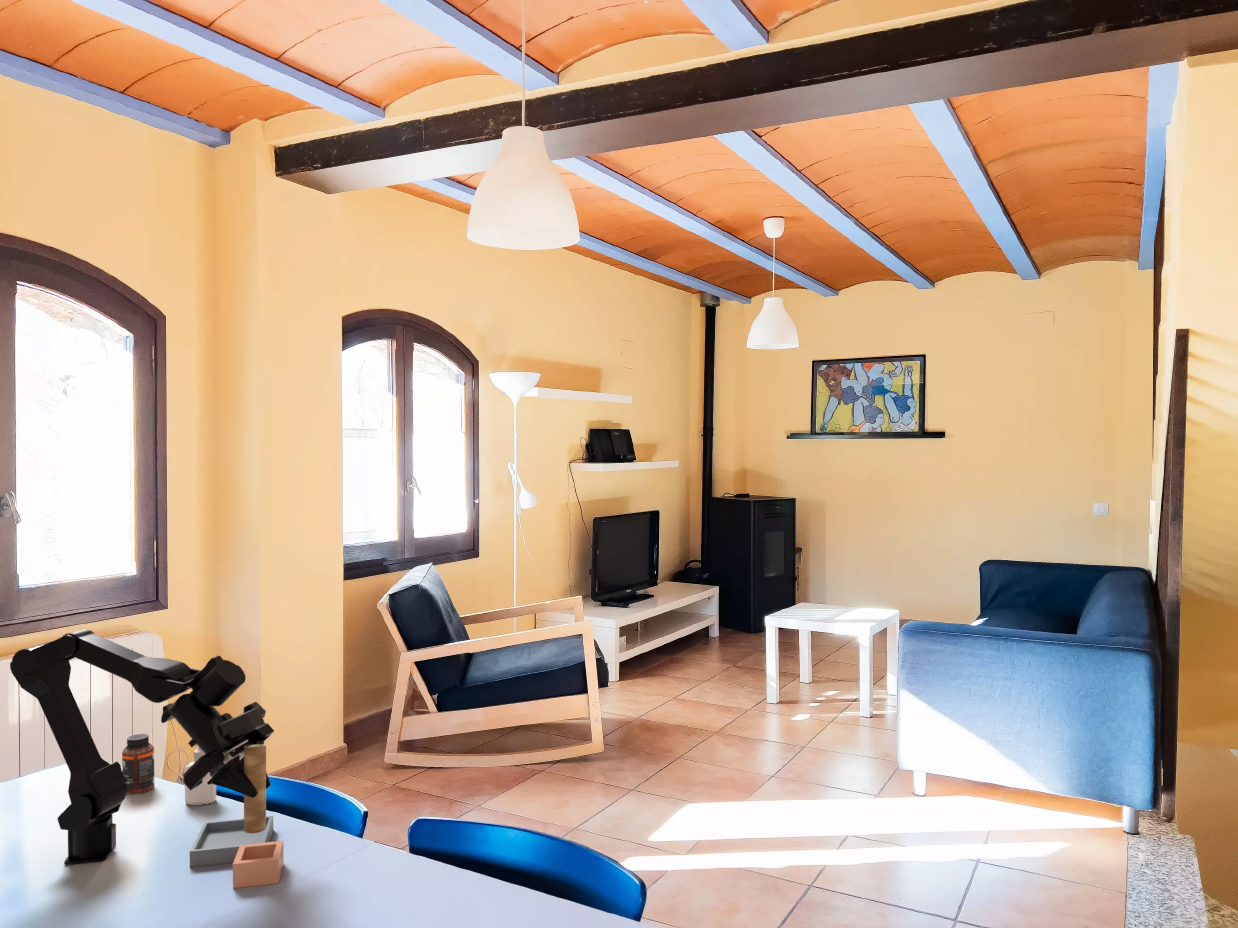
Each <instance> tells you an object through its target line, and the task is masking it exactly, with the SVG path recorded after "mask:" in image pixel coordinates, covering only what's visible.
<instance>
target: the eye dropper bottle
mask: <svg viewBox="0 0 1238 928" xmlns="http://www.w3.org/2000/svg"><path fill="white" fill-rule="evenodd" d="M203 755H205V753H204V752H203V751H202V750H201V749H200V748H199V746H198V745H197V749H195V750H193V761H192V762H189V763H188V764H187V765H186V766H185V769H184V773H185V772H186V771H187V770H188V769H189V768H190V767H191V766H192V765H193V764H194V763H195V762H196V761H197V760H198V759H199V758H200V757H202V756H203ZM211 778H212V777H211V776H210V772H209V773H208V774H207V775H206V776H205V777H204V778H203V779H202V783H201V784H200V785H199V786H197V787H196V788H194V789H192V790H191V791H190V790H189V789H188V787H187V786H186V785H185V784H184V789H185V790H184V799H185V800H184V801H185V802H184V803H185V804H186V805H189V806H203V805H202V804H206V805H210V804H209V803H211V804H213V803H214V802H215V801H216V800H215V799H217V785H214V784H210V785H208V784H207V782H208V781H209V780H210V779H211ZM212 802H213V803H212Z"/></svg>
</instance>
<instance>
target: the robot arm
mask: <svg viewBox="0 0 1238 928" xmlns="http://www.w3.org/2000/svg"><path fill="white" fill-rule="evenodd" d="M72 659H78V660H81V661H82V662H85V663H88V664H89V665H91V666H94V667H96V668H99V669H101V670H102V671H105V672H108V673H109V674H112V675H114V676H117V677H119V678H121V679H124V680H126V681H127V682H129V683H130V684H131V685H132V687H133V688H134V690H135V692H136V693H138V694H139V695H141V696H142V697H144V698H145V699H147V700H148V701H149V702H151V703H154V704H160V703H163V702H166V701H168V700H170V699H172V698H174V697H177V696H179V695H180V696H179V697H178V698H177V699H175V701H174V702H172V703H171V702H170V703H169V704H168V703H167V704H166V705H164V706H163V707H162V714H161V720H160V722H161V723H162V724H165V723H167V722H170V721H171V720H173V719H174V720H175V722H177V723H178V724H179V725H180V727H181V728H182V729H183V731H185V733H186V734H188V736H189V737H190V739H191V740H189V741H188V745H189V746H190V747H191V748H193V747H195V746H197V747H198V746H199V748H200V749H201V750H202V751H203V752H204V753H205V755H203V756H202V757H200V758H199V759H198V760H197V761H196V762H195V763H194V764H193V765H192V766H191V767H190V768H189V769H188V770H187V771H186V772H185V771H184V773H183V775H182V782H183V784H184V786H185V785H186V786H187V787H188V789H189V790H190V791H191V790H192V789H194V788H196V787H197V786H199V785H200V784H201V783H202V779H203V778H204V777H205V776H206V775H207V774H208V773H209V772H210V776H211V777H212V778H211V779H210V780H209V781H208V782H207V784H208V785H210V784H214V785H216V786H219V787H221V788H225V789H229V790H230V791H231V790H232V791H233V792H236V793H239V794H242V795H243V796H244V795H246V796H249V797H252V798H254V797H256V796H257V795H258V792H257V790H256V788H255V787H254V785H253V784H252V783H251V781H250V780H249V779H248V777H247V776H246V774H245V773H244V748H245V747H247V746H251V745H258V744H259V745H265V742H266V740H268V739H269V737H271V735H272V734H274V732H275V730H274V729H273V728H272V727H271V725H270V724H269V722H268V723H266V722H265V720H264V718H265V716H266V713H267V711H266V709H264V708H263V707H262V706H261V704H260V703H258V701H254V702H251V703H249V704H248V705H245V706H244V707H243V712H242V713H240V714H238V715H237V716H234V717H233V716H232V715H231V714H230V713H228V712H225V713H223V714H221V713H220V712H219V711H218V709H216V707H221V706H223V705H224V703H226V702H227V701H228V699H229V698H230V697H231V696H233V694H235V693H236V691H237V690H239V688H240V687H242V685H243V684H244V683H245V682H246V678H247V677H246V674H245V672H244V671H245V670H244V669H242V667H241V666H240V665H238V664H236V663H234V662H233V661H230V660H227V659H223V658H222V656H221V655H219V654H218V655H216V656H213V657H212V658H210V659H209V661H207V663H206V664H205V666H204V667H203V668H202V669H197V668H193V667H192V668H191V667H190V666H189V665H188V664H186V663H185V662H182V661H178V660H174V659H170V658H165V657H152V656H151V657H150V656H146V655H144V654H141V653H139V652H137V651H134V650H132V649H130V648H128V647H125V646H123V645H121V644H118V643H117V642H114V641H113V640H112V641H111V640H109V639H107V638H104V637H102V636H100V635H98V634H95V632H94V631H92V630H91V629H86V628H83V629H79V630H75V631H72V632H68V633H65V634H64V635H63V636H61V637H59V638H56V639H55V640H53V641H52V640H51V641H47V642H43V643H40V644H37V645H33V646H29V647H26V648H22V649H19V650H17V651H16V652H15V653H14V655H13V656H12V659H11V661H10V663H9V668H10V672H11V674H12V676H13V677H14V678H15V681H17V684H18V685H19V687H20V688H21V689H23V690H24V691H25V692H27V693H28V694H29V695H31V696H33V697H34V698H36V699H37V701H38V703H39V705H40V707H41V709H42V711H43V715H44V716H45V719H46V720H47V723H48V725H49V727H50V730H51V732H52V734H53V736H54V738H55V741H56V743H57V745H58V747H59V750H60V751H61V754H62V756H63V759H64V761H65V763H66V765H67V768H68V770H69V773H70V774H69V775H70V777H69V783H68V790H67V793H68V796H69V800H70V804H69V805H68V807H66V808H65V809H64V811H62V812H61V814H60V815H58V817H57V822H58V825H59V829H60V830H61V831H62V830H63V831H67V857H66V858H65V860H64V861H63V862H64V865H71V864H83V863H91V862H101V861H105V860H107V859H108V857H109V856H110V854H112V852H113V850H114V849H115V848H116V846H117V824H116V823H113V815H114V814H115V813H117V812H119V810H120V808H121V805H122V803H123V801H124V800H125V799H126V796H127V792H128V789H127V785H126V782H127V781H128V779H127V778H126V777H125V776H124V774H123V772H122V766H121V765H122V764H120V763H119V762H118V761H114V762H112V763H110V762H108V761H106V760H105V759H103V758H102V756H101V755H100V754H101V753H100V752H99V751H98V747H97V746H96V744H95V741H94V740H93V737H92V734H91V733H90V730H89V728H88V726H87V724H86V721H85V719H84V717H83V715H82V712H81V710H80V708H79V706H78V703H77V701H76V699H75V697H74V694H73V692H72V690H71V687H70V679H71V671H72V666H71V662H70V660H72ZM190 689H191V691H190V692H189V693H186V692H187V691H188V690H190ZM181 694H182V695H181ZM271 784H272V783H271V781H270V779H269V775H268V773H267V772H266V790H267V789H269V788H270V787H271Z"/></svg>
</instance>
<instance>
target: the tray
mask: <svg viewBox="0 0 1238 928" xmlns="http://www.w3.org/2000/svg"><path fill="white" fill-rule="evenodd" d="M273 833H274V815H266V829H265V830H263V831H261V832H258V833H246V832H244V818H236V819H235V818H234V819H226V820H225V819H224V820H213V821H205V822H203V824H202V826H201V829H200V830H199V832H198V834H197V836H196V837H195V840H194V842H193V844H192V846H191V848H190V850H189V868H193V867H194V868H195V867H203V866H212V865H213V866H214V865H223V864H230V863H232V864H233V862H234V860H235V857H236V855H237V852H238V849H239V847H240V845H247V844H257V843H267V842H271V838H272V836H273Z"/></svg>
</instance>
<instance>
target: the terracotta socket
mask: <svg viewBox="0 0 1238 928" xmlns="http://www.w3.org/2000/svg"><path fill="white" fill-rule="evenodd" d="M284 861H285V860H284V840H279V841H278V840H277V841H270V842H267V843H257V844H247V845H240V847H239V849H238V852H237V855H236V857H235V860H234V862H233V863H232V889H238V888H246V887H247V888H249V887H255V886H265V885H273V884H274V885H275V884H279V882H280V878H281V874H282V870H283V868H284V867H283V866H284V864H285V863H284Z"/></svg>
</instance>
